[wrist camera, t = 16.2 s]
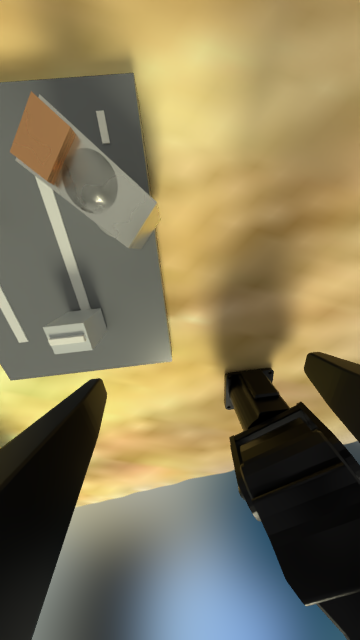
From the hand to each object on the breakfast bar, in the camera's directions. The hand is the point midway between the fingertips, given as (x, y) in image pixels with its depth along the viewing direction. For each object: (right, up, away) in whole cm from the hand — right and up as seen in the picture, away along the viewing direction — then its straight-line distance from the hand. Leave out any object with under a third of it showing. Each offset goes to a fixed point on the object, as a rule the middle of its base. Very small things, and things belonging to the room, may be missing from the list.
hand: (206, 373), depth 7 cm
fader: (-10, +2, +9) cm, 14 cm away
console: (-12, +7, +9) cm, 17 cm away
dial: (-6, +11, +6) cm, 14 cm away
